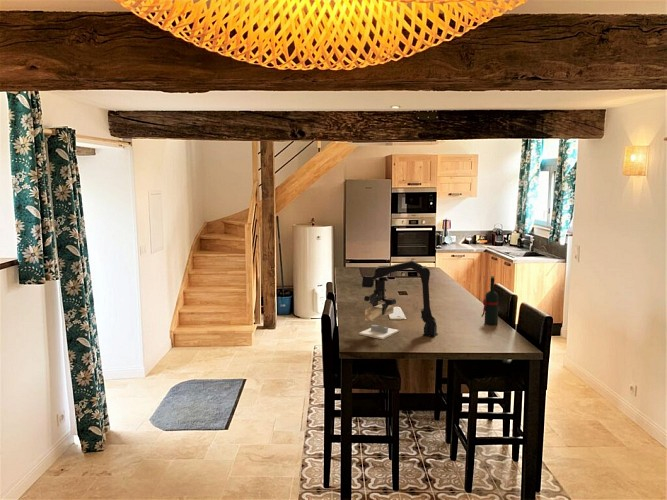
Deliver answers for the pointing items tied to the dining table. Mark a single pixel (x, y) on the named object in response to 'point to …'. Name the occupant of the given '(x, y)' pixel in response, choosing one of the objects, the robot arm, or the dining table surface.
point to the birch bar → (377, 312)
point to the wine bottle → (491, 305)
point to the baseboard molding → (397, 314)
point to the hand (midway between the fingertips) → (379, 314)
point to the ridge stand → (379, 332)
